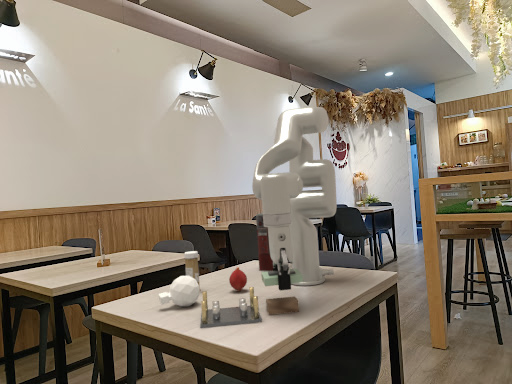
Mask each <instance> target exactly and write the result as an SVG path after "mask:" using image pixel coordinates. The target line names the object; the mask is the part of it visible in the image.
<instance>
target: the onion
mask: <svg viewBox="0 0 512 384" xmlns="http://www.w3.org/2000/svg"><path fill="white" fill-rule="evenodd" d="M247 283H248V278H247V275H246V273H245V272H243V270H241V269H240V267H239V266H237V267H236V268H235V269H234V270H233V271H232V272H231V274H230V276H229V285H230V286H231V288H233V289H234V290H235V291H237V292H242V290H243V289H244V287H245V286H246V285H247Z"/></svg>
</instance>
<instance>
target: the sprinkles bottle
mask: <svg viewBox="0 0 512 384" xmlns="http://www.w3.org/2000/svg"><path fill="white" fill-rule="evenodd" d="M183 257H184V262H185V276H190V277H192V278H194V279H196V281H197V283H198V285H199V290H200V291H201V288H200V285H201V284H200V273H199V272H200V271H199V259H198V258H199V252H198V251H197V250H192V251H191V250H190V251H185V252H184V255H183Z"/></svg>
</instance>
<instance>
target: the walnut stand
mask: <svg viewBox="0 0 512 384" xmlns="http://www.w3.org/2000/svg"><path fill="white" fill-rule="evenodd" d="M265 304H266V312H267V314H268V315H279V314H280V315H282V314H291V313H292V314H293V313H300V306H299V305H300V304H299V299H298V298H297V297H296V296H288V297H286V296H285V297H276V298H266V299H265Z"/></svg>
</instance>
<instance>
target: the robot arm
mask: <svg viewBox="0 0 512 384" xmlns="http://www.w3.org/2000/svg"><path fill="white" fill-rule="evenodd" d="M328 126H329V115H328V112H327V110H326V108H324V107H322V106H305V107H299V108H292V109H286V110H284V111H282V112H281V113H280V114H279V115H278V118H277V124H276V127H275V128H276V129H275V136H274V139H273V140H274V141H273V145H272V146H271V147H270V148H269V149H267V150H266V151H265V152H264V153H263V154H262V155H261V157H260V158H259V159H258V161H257V162H256V164H255V168H254V172H253V177H252V186H251V187H252V192H253V195H254V198H257V199H258V200H260V201H261V207H262V213H263V223H264V227H268V236H269V249H270V256H271V259H272V260H273V271H278V272H279V275H278V285H277V286H278V290H279V291H280V292H281V291H288V290H289V291H290V290H291V289H292V285H295V286H302V287H303V286H305V287H306V286H315V285H319V284H323V283H324V282H325V281H326V280H325V279H326V278H325V276H331V275H335V274H334V269H333V268H322V267H320V255H319V253H320V252H319V240H318V239H319V238H318V230H317V228H316V226H315V225H314V223H313V222H312V220H310V219H322V218H331V217H334V216H335V214H336V213H337V208H338V207H337V206H338V205H337V204H338V203H337V184H336V183H337V181H336V179H337V178H336V170H335V166H334V163H333V161H331V160H330V159H328V158H326V159H325V158H324V159H323V158H322V159H314V148H313V146H312V144H311V143H310V142H309V140H307V139H306V137H304V136H303V135H310V134H320V133H321V134H322V133H324V132H326V131H327V129H328ZM286 163H289V165H288V166H289V171H288V172H286V171H285V172H273V173H271V172H272V171H273V170H274V169H276V168H278V167H280V166H282V165H284V164H286ZM318 187H319V188H322V189H315V190H311V189H309V190H307V188H318ZM304 188H306V190H304ZM289 263H290V264H291V269H297V270H298V271H299V272H300V273H301V274H302V275H303V282H301V283H292V284H291V279H290V271H289V269H290V266H289Z"/></svg>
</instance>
